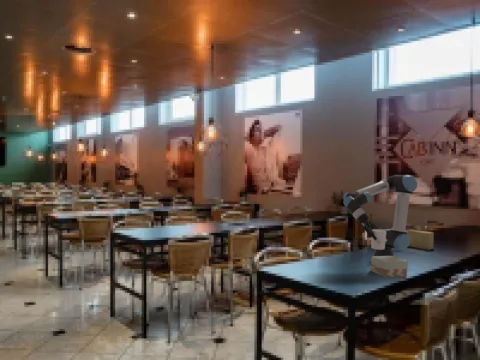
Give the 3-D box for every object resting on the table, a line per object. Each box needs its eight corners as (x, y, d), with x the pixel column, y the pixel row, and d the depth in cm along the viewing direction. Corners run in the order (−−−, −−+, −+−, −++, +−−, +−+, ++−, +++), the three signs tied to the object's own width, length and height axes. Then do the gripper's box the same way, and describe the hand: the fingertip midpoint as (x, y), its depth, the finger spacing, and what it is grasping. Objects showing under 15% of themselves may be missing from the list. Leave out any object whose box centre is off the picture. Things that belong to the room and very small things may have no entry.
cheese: (404, 246, 373) (404, 229, 373) (409, 245, 380) (409, 229, 379) (429, 250, 357) (429, 232, 357) (433, 248, 363) (434, 231, 363)
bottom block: (391, 270, 280) (391, 263, 280) (406, 276, 264) (407, 268, 264) (370, 271, 275) (370, 263, 275) (385, 277, 260) (385, 269, 260)
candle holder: (367, 247, 275) (367, 229, 275) (378, 246, 279) (379, 229, 279) (377, 250, 266) (378, 231, 266) (389, 249, 270) (389, 231, 270)
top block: (392, 263, 279) (392, 255, 279) (407, 268, 264) (407, 260, 264) (371, 263, 275) (371, 256, 275) (385, 269, 260) (385, 261, 260)
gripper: (363, 218, 290) (385, 244, 281) (349, 220, 274) (372, 248, 264) (371, 211, 287) (393, 237, 277) (357, 213, 270) (380, 241, 260)
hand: (383, 242), depth 271 cm, fingers closed on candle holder, 9 cm apart
